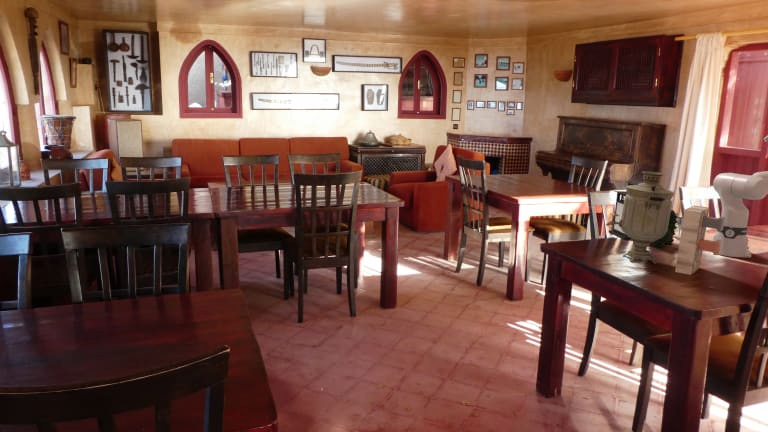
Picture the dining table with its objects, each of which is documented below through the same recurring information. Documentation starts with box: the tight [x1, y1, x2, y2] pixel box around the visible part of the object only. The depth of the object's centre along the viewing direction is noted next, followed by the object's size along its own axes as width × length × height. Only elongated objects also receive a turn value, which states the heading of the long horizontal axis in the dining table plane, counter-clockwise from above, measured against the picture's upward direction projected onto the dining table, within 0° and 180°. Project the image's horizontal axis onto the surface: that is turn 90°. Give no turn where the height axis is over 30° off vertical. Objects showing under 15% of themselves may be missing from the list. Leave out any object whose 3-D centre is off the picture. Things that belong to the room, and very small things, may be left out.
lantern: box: [608, 172, 643, 241], centre depth 301 cm, size 17×17×35 cm
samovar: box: [605, 171, 675, 265], centre depth 254 cm, size 30×26×40 cm
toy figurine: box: [652, 209, 678, 249], centre depth 284 cm, size 9×19×25 cm
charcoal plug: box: [701, 215, 725, 232], centre depth 236 cm, size 6×9×6 cm, turn 49°
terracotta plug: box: [698, 239, 721, 256], centre depth 238 cm, size 6×9×6 cm, turn 49°
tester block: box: [674, 205, 710, 276], centre depth 241 cm, size 16×6×27 cm, turn 139°
